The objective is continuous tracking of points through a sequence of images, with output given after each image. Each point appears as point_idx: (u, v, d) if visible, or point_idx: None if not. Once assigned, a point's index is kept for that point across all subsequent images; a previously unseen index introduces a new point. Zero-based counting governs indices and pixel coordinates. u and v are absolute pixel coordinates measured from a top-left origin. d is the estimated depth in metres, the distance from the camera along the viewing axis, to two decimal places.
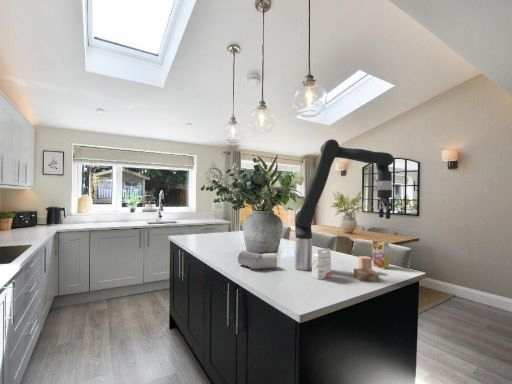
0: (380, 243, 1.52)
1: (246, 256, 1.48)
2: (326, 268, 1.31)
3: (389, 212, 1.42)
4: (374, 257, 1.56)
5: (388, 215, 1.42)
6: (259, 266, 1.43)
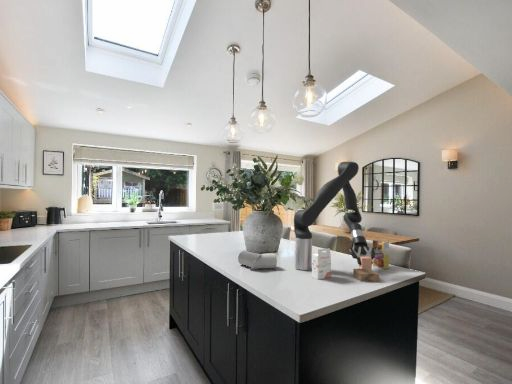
0: (380, 243, 1.52)
1: (246, 256, 1.49)
2: (326, 268, 1.31)
3: None
4: (374, 257, 1.56)
5: None
6: (259, 266, 1.44)
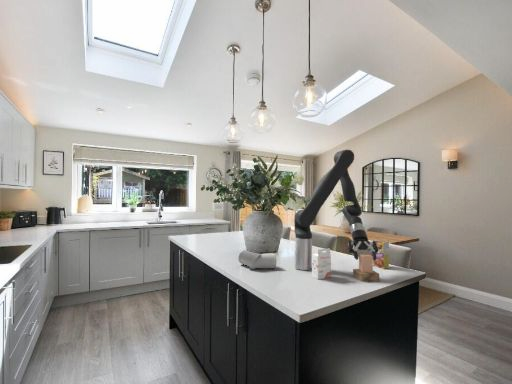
0: (380, 243, 1.52)
1: (246, 256, 1.49)
2: (326, 268, 1.31)
3: None
4: None
5: None
6: (258, 266, 1.44)
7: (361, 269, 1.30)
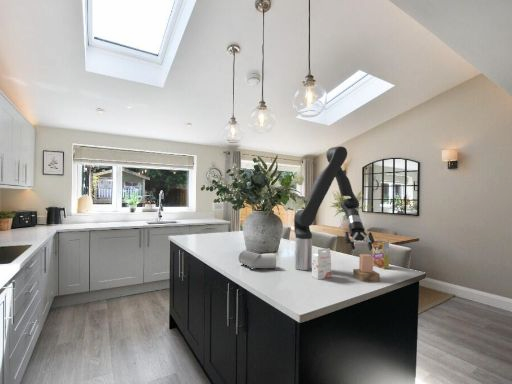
0: (380, 243, 1.52)
1: (246, 255, 1.50)
2: (326, 268, 1.31)
3: None
4: (374, 257, 1.56)
5: None
6: (258, 266, 1.44)
7: (361, 269, 1.31)
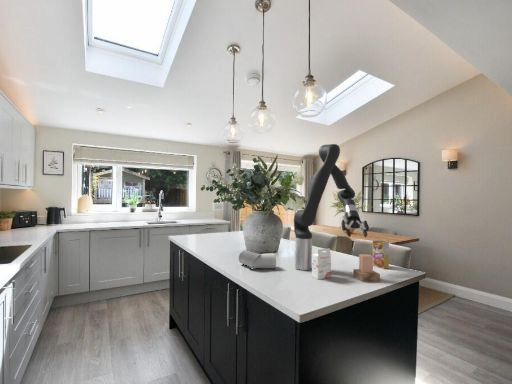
0: (380, 243, 1.52)
1: (246, 255, 1.50)
2: (326, 268, 1.31)
3: None
4: (374, 257, 1.56)
5: None
6: (258, 266, 1.44)
7: (361, 269, 1.30)
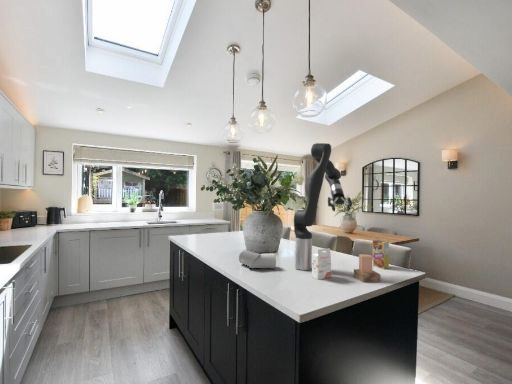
0: (380, 243, 1.52)
1: (246, 255, 1.50)
2: (326, 268, 1.31)
3: None
4: (374, 257, 1.56)
5: None
6: (257, 266, 1.44)
7: (361, 269, 1.30)
